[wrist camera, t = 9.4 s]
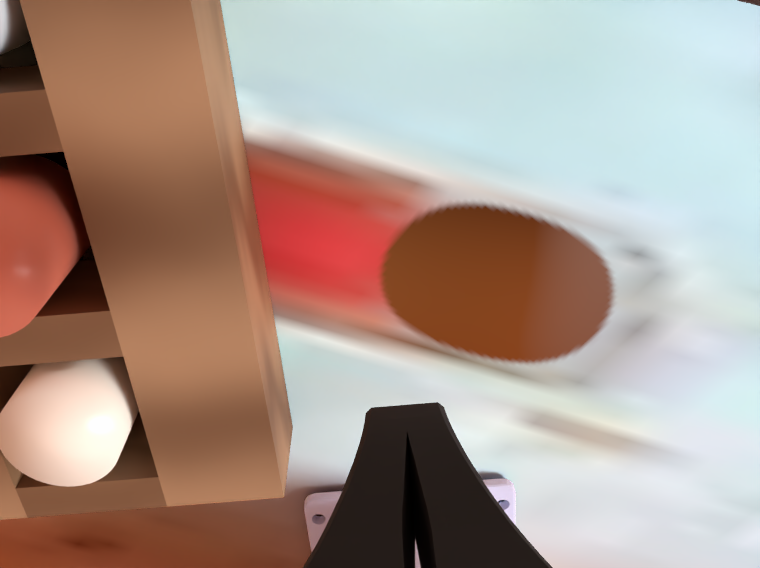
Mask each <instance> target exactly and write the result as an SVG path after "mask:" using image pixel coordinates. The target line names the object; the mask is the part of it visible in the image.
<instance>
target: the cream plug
mask: <svg viewBox="0 0 760 568" xmlns="http://www.w3.org/2000/svg"><path fill="white" fill-rule="evenodd" d="M138 412H139V408H138V405H137V402H136V398H135V395H134V391H133V388H132V384H131V381H130V378H129V374H128V371H127V367H126V364H125V360H124V357H113V358H101V359H88V360H76V361H64V362H52V363H39V364H34V365H33V367H32V368H31V370H30V371H29V372H28V374H27V375H26V377H25V378H24V380H23V381H22V382H21V384H20V385H19V387H18V388H17V390H16V391H15V392H14V394H13V395H12V397H11V398H10V400H9V401H8V403H7V404H6V405H5V407H4V408H3V410H2V411H1V413H0V450H1V452H2V453H3V455H4V456H5V458H6V459H7V460H8V461H9V462H10V463H11V464H12V465H13V466H14V467H15V468H16V469H18V470H19V471H21V472H22V473H24V474H25V475H27V476H29V477H31V478H33V479H35V480H37V481H40V482H43V483H47V484H51V485H56V486H66V487H70V486H81V485H86V484H90V483H93V482H95V481H97V480H99V479H101V478H103V477H104V476H106V475H107V474H108V473H109V472H110V471H111V470H112V469H113V468H114V466H115V465H116V463H117V461H118V459H119V456H120V454H121V452H122V449H123V447H124V445H125V442H126V440H127V438H128V435H129V433H130V431H131V428H132V426H133V424H134V421H135V419H136V417H137V414H138Z"/></svg>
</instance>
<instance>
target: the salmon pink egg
mask: <svg viewBox="0 0 760 568" xmlns="http://www.w3.org/2000/svg"><path fill="white" fill-rule="evenodd" d="M89 246H90V240H89V237H88V234H87V230H86V227H85V223H84V220H83V216H82V213H81V210H80V206H79V203H78V199H77V196H76V192H75V189H74V186H73V182H72V179H71V175H70V172H69V171H67V170H66V169H65V168H63V167H62V166H60V165H59V164H57V163H55V162H53V161H51V160H49V159H46V158H43V157H40V156H36V155H32V154H27V155H16V156H4V157H0V337H4V336H8V335H11V334H13V333H15V332H18V331H19V330H21V329H23V328H24V327H25V326H27V325H28V324H29V323H30V322H31V321H32V320H33V319H34V317H35V316H36V315H37V314H38V312H39V311H40V310H41V308H42V307H43V306H44V305H45V303H46V302H47V301H48V299H49V298H50V297H51V296H52V294H53V293H54V292H55V290H56V289H57V288H58V287H59V285H60V284H61V283H62V281H63V280H64V279H65V278H66V276H67V275H68V274H69V272H70V271H71V270H72V268H73V267H74V266H75V265H76V263H77V262H78V261H79V259H80V258H81V257H82V256H83V254H84V253H85V252H86V250H87V249H88V248H89Z"/></svg>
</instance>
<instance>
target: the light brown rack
mask: <svg viewBox="0 0 760 568" xmlns="http://www.w3.org/2000/svg"><path fill="white" fill-rule="evenodd" d="M20 4H21V7H22V11H23V14H24V18H25V21H26V24H27V28H28V31H29V35H30V38H31V42H32V45H33V48H34V52H35V55H36V59H37V62H38V65H35V66H24V67H12V68H1V69H0V157H4V156H16V155H27V154H39V153H51V152H63V151H64V155H65V158H66V162H67V165H68V168H69V172H70V175H71V179H72V182H73V186H74V189H75V192H76V196H77V199H78V203H79V206H80V210H81V213H82V216H83V220H84V223H85V227H86V230H87V234H88V237H89V240H90V244H91V247H92V251H93V254H94V258H95V259H94V260H82V261H78V262H77V263H76V265H75V266H74V267H73V268H72V270H71V271H70V272H69V274H68V275H67V276H66V278H65V279H64V280H63V281H62V283H61V284H60V285H59V287H58V288H57V289H56V290H55V292H54V293H53V294H52V296H51V297H50V298H49V299H48V301H47V302H46V303H45V305H44V306H43V307H42V308H41V310H40V311H39V312H38V314H37V315H36V316H35V317H34V319H33V320H32V321H31V322H30V323H29V324H28V325H27V326H25V327H24V328H23V329H21V330H19V331H18V332H15V333H13V334H11V335H8V336H4V337H0V413H1V411H2V410H3V408H4V407H5V405H6V404H7V403H8V401H9V400H10V398H11V397H12V395H13V394H14V392H15V391H16V390H17V388H18V387H19V385H20V384H21V382H22V381H23V380H24V378H25V377H26V375H27V374H28V372H29V371H30V370H31V368H32V367H33V365H34V364H39V363H52V362H64V361H76V360H88V359H101V358H113V357H124V360H125V364H126V367H127V371H128V374H129V378H130V381H131V384H132V388H133V391H134V395H135V398H136V402H137V405H138V408H139V412H138V414H137V417H136V419H135V421H134V424H133V426H132V428H131V431H130V433H129V435H128V438H127V440H126V442H125V445H124V447H123V449H122V452H121V454H120V456H119V459H118V461H117V463H116V465H115V466H114V468H113V469H112V470H111V471H110V472H109V473H108V474H107V475H106V476H104V477H103V478H101V479H99V480H97V481H95V482H93V483H90V484H86V485H81V486H70V487H66V486H56V485H51V484H47V483H43V482H40V481H37V480H35V479H33V478H31V477H29V476H27V475H25V474H24V473H22V472H21V471H19V470H18V469H16V468H15V467H14V466H13V465H12V464H11V463H10V462H9V461H8V460H7V459H6V458H5V456H4V455H3V453H2V452H1V450H0V520H6V519H19V518H31V517H44V516H57V515H69V514H82V513H95V512H107V511H120V510H133V509H145V508H158V507H171V506H184V505H196V504H209V503H222V502H234V501H247V500H260V499H272V498H284V493H285V485H286V477H287V469H288V461H289V453H290V445H291V436H292V428H293V426H292V421H291V415H290V409H289V403H288V397H287V391H286V385H285V379H284V374H283V368H282V362H281V356H280V350H279V344H278V338H277V333H276V327H275V321H274V315H273V309H272V303H271V297H270V291H269V286H268V280H267V274H266V268H265V262H264V256H263V250H262V244H261V239H260V233H259V227H258V221H257V215H256V209H255V203H254V197H253V192H252V186H251V180H250V174H249V168H248V162H247V156H246V151H245V145H244V139H243V133H242V127H241V121H240V115H239V109H238V104H237V98H236V92H235V86H234V80H233V74H232V68H231V62H230V57H229V51H228V45H227V39H226V33H225V27H224V21H223V15H222V10H221V4H220V0H20Z"/></svg>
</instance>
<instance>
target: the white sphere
mask: <svg viewBox="0 0 760 568" xmlns="http://www.w3.org/2000/svg"><path fill="white" fill-rule="evenodd" d="M30 40H31V38H30V35H29V31H28V28H27V24H26V21H25V18H24V14H23V11H22V7H21V4H20V0H0V55H1V54H4V53H6V52H8V51H11V50H13V49H15V48H18V47H20V46H22V45H24V44H26V43H27V42H29V41H30Z"/></svg>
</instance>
